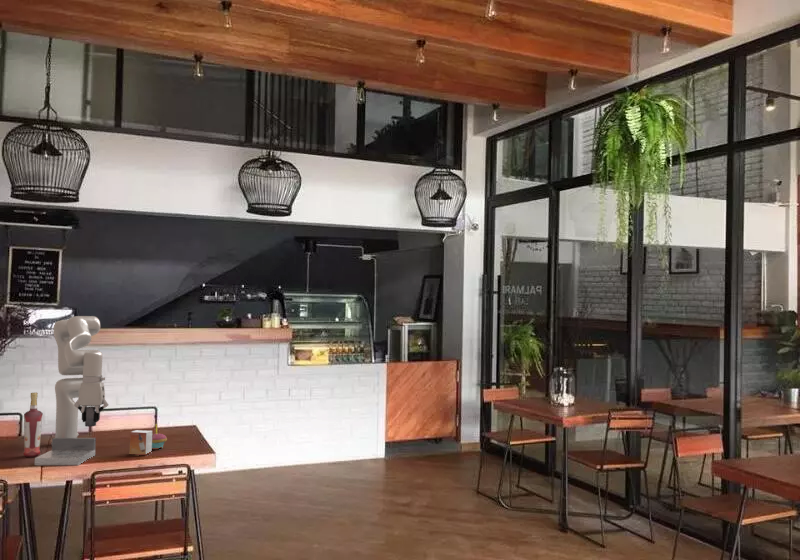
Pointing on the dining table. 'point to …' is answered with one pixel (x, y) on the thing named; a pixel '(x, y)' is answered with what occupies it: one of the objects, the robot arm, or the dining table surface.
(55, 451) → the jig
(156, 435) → the cupcake
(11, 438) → the dining table surface
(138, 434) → the small box
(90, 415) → the bushing
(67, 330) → the robot arm
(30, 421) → the liquor
